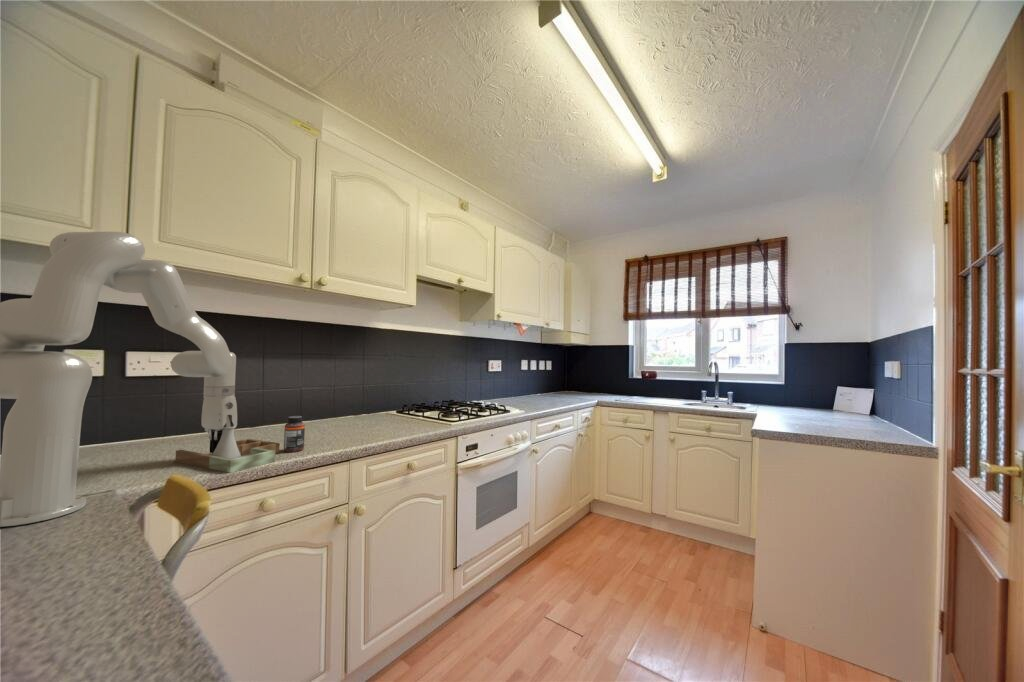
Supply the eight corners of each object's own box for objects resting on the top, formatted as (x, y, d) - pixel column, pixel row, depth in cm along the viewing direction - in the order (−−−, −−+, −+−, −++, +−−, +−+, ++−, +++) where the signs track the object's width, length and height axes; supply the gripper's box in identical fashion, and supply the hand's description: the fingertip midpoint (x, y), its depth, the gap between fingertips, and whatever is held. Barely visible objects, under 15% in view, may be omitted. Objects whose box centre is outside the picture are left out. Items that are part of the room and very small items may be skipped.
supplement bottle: (290, 448, 128) (292, 415, 128) (307, 448, 128) (309, 415, 128) (279, 452, 122) (281, 417, 122) (296, 452, 122) (298, 418, 122)
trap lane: (230, 472, 100) (230, 460, 100) (175, 461, 109) (175, 450, 109) (296, 455, 118) (296, 445, 118) (244, 447, 127) (245, 438, 127)
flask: (225, 464, 107) (228, 429, 108) (203, 461, 108) (206, 427, 109) (246, 457, 115) (249, 425, 115) (225, 454, 115) (228, 422, 116)
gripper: (248, 392, 114) (246, 452, 114) (217, 389, 120) (214, 446, 119) (221, 394, 107) (219, 458, 107) (190, 391, 113) (187, 452, 112)
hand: (216, 452), depth 113 cm, fingers closed
